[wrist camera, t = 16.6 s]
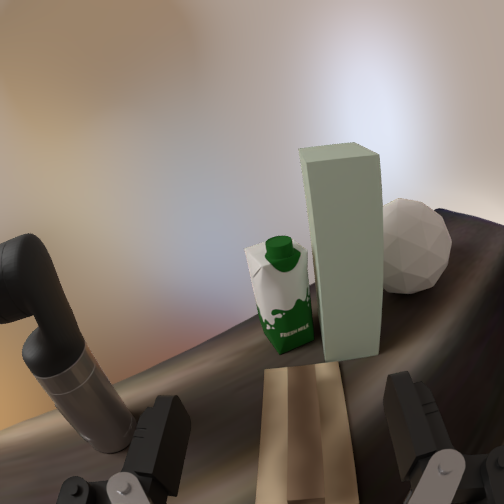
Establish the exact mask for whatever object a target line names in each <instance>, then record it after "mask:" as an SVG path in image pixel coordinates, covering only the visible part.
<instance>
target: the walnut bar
mask: <svg viewBox="0 0 504 504" xmlns="http://www.w3.org/2000/svg"><path fill="white" fill-rule="evenodd" d="M287 376H288V456H287V503H288V504H325V487H324V469H323V453H322V439H321V426H320V414H319V403H318V392H317V381H316V371H315V364H313V365H304V366H295V367H287Z"/></svg>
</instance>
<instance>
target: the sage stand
mask: <svg viewBox="0 0 504 504" xmlns="http://www.w3.org/2000/svg"><path fill="white" fill-rule="evenodd" d="M298 150H299V156H300V163H301V169H302V176H303V183H304V190H305V198H306V205H307V213H308V221H309V228H310V237H311V246H312V255H313V265H314V274H315V284H316V295H317V306H318V317H319V323H320V330H321V336H322V342H323V349H324V355H325V362H326V363H328V362H335V361H344V360H350V359H357V358H363V357H368V356H374V355H378V353H379V342H380V330H381V316H382V297H383V259H384V240H383V203H382V184H381V169H380V158H379V154H377V153H375V152H373V151H371V150H369V149H367V148H365V147H363V146H361V145H359V144H357V143H354V142H353V143H342V144H333V145H324V146H316V147H308V148H300V149H298Z"/></svg>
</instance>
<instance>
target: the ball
mask: <svg viewBox="0 0 504 504" xmlns="http://www.w3.org/2000/svg"><path fill="white" fill-rule="evenodd" d="M383 240H384V259H383V288H384V289H385V290H386V291H387V292H389V293H402V294H413V293H416V292H419V291H422V290H425V289H428V288H431V287H433V286H434V285H435V283H436V282H437V280H438V279H439V277H440V276H441V274H442V273H443V271H444V270H445V268H446V267H447V265H448V260H449V255H450V250H451V244H452V240H451V238H450V235H449V232H448V230H447V227H446V225H445V223H444V220H443V218H442V216H440V215H439V214H438V213H436V212H435V211H433V210H432V209H431V208H429V207H428V206H426V205H425V204H424V203H422V202H418V201H413V200H407V199H402V198H398V199H396V200H394V201H392V202H390V203H388V204H386V205H384V206H383Z"/></svg>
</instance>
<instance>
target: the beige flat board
mask: <svg viewBox="0 0 504 504" xmlns="http://www.w3.org/2000/svg"><path fill="white" fill-rule="evenodd" d="M312 365H313V364H312ZM315 371H316V381H317V392H318V403H319V414H320V426H321V439H322V453H323V469H324V487H325V504H359V498H358V489H357V481H356V472H355V465H354V457H353V450H352V443H351V436H350V429H349V423H348V416H347V410H346V404H345V398H344V392H343V386H342V380H341V375H340V369H339V364H338V361H335V362H328V363H320V364H315ZM287 456H288V376H287V367H285V368H275V369H265V374H264V390H263V407H262V422H261V437H260V451H259V465H258V479H257V492H256V504H288V503H287Z"/></svg>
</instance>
